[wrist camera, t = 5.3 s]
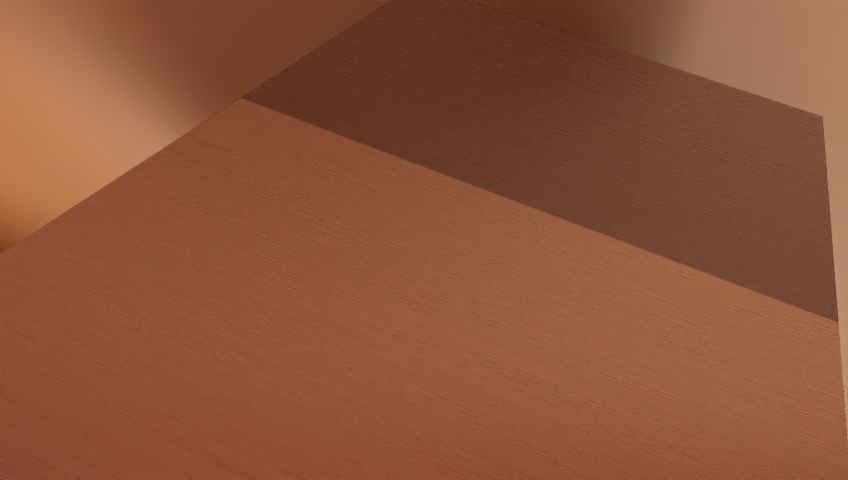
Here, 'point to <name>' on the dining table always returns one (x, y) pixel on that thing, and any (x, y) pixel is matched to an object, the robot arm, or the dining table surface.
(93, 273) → the housing
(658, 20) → the dining table surface
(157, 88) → the dining table surface
